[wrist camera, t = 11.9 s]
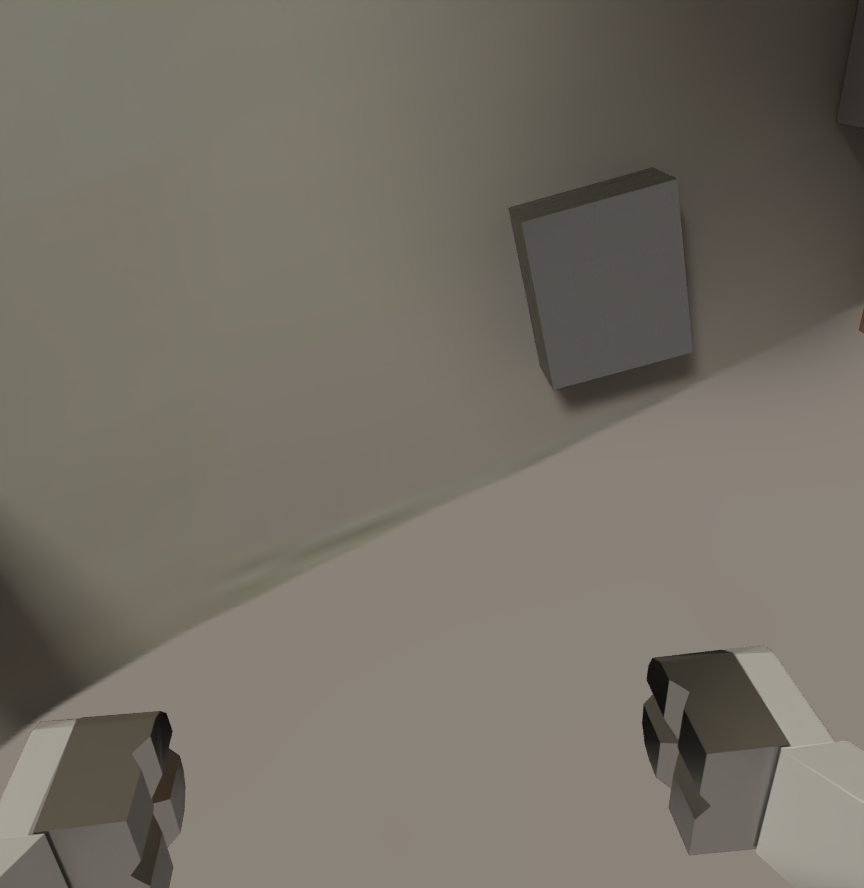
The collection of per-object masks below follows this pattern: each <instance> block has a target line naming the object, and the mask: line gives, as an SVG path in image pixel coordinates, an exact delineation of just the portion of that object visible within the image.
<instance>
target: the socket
mask: <svg viewBox="0 0 864 888" xmlns="http://www.w3.org/2000/svg"><path fill="white" fill-rule="evenodd" d="M836 123H840V124H845V125H850V126H856V127H861V128H864V0H859V3H858V8H857V14H856V19H855V24H854V29H853V35H852V40H851V45H850V51H849V56H848V61H847V67H846V72H845V77H844V83H843V88H842V93H841V98H840V104H839V109H838V114H837V120H836Z"/></svg>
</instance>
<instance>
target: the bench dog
mask: <svg viewBox="0 0 864 888" xmlns="http://www.w3.org/2000/svg"><path fill="white" fill-rule="evenodd" d="M859 330H860V331H861V332H863V333H864V311H863V315H862V319H861V324H860V328H859Z"/></svg>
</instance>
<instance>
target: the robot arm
mask: <svg viewBox="0 0 864 888" xmlns="http://www.w3.org/2000/svg"><path fill="white" fill-rule="evenodd" d="M647 682H648V684H649V686H650V689H651V691H652V693H653V695H652V696H651V697H650V698H649V699H648V700H647V701H646V702H645V703H644V706H643V719H642V726H643V734H644V742H645V747H646V750H647V754H648V757H649V761H650V763H651V765H652V768H653V771H654V773H655V776H656V778H658V779H659V780H660V781H662V782H663V783H664V784H666V785H667V786H668V787H670V788H671V795H670V802H669V809H670V812H671V814H672V816H673V819H674V821H675V824H676V826H677V828H678V830H679V833H680V835H681V838H682V840H683V842H684V845H685V847H686V849H687V852H688V854H689V855H698V854H708V853H719V852H729V851H740V850H750V849H756V853H757V854H758V855H759V856H760V857H761V858H762V859H763V860H764V861H765V862H767V863H768V864H769V865H770V866H771V867H772V868H773V869H774V870H775V871H777V872H778V873H779V874H780V875H781V876H782V877H783V878H784V879H785V880H786V881H788V882H789V883H790V884H791V885H792V886H793V887H794V888H864V750H862V749H861V748H859V747H857V746H856V745H854V744H852V743H850V742H848V741H835V740H834V739H833V737H832V736H831V734H830V733H829V732H828V730H827V729H826V727H825V726H824V724H823V723H822V721H821V720H820V719H819V717H818V716H817V714H816V713H815V711H814V710H813V709H812V707H811V706H810V704H809V703H808V702H807V700H806V699H805V698H804V696H803V695H802V693H801V691H800V690H799V689H798V687H797V686H796V684H795V683H794V681H793V680H792V679H791V677H790V676H789V674H788V673H787V672H786V670H785V669H784V667H783V666H782V664H781V663H780V662H779V660H778V659H777V657H776V656H775V654H774V653H773V652H772V650H771V649H769V648H768V647H766V646H765V645H758V646H749V647H740V648H732V649H727V650H715V651H706V652H697V653H689V654H680V655H672V656H664V657H655V658H652V660H651V662H650V663H649V666H648V672H647ZM172 732H173V731H172V728H171V725H170V722H169V719H168V716H167V713H165V712H162V711H157V712H144V713H132V714H119V715H108V716H95V717H84V718H80V719H68V720H56V721H43V722H40V723H39V724H38V725H37V726H36V727H35V728H34V729H33V731H32V732H31V733H30V735H29V737H28V740H27V741H26V744H25V746H24V748H23V750H22V753H21V755H20V757H19V759H18V761H17V764H16V766H15V768H14V770H13V773H12V775H11V777H10V779H9V781H8V784H7V786H6V788H5V790H4V792H3V795H2V797H1V799H0V888H169V885H170V880H171V876H172V871H173V864H172V861H171V858H170V855H169V851H168V849H167V848H168V846H169V845H170V844H171V843H172V842H173V841H174V840H175V838H176V837H177V836H178V835H179V834H180V832H181V827H182V822H183V816H184V808H185V779H184V770H183V766H182V763H181V759H180V756H179V755H178V754H176V753H175V752H174V751H172V750H171V749H169V744H170V740H171V736H172Z"/></svg>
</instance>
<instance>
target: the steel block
mask: <svg viewBox="0 0 864 888" xmlns="http://www.w3.org/2000/svg"><path fill="white" fill-rule="evenodd" d="M509 213H510V218H511V223H512V228H513V233H514V238H515V243H516V248H517V253H518V258H519V263H520V268H521V273H522V278H523V283H524V288H525V293H526V298H527V303H528V308H529V313H530V318H531V323H532V328H533V333H534V338H535V343H536V348H537V353H538V358H539V363H540V367H541V369H542V371H543V372H544V374H545V376H546V378H547V379H548V381H549V383H550V385H551V386H552V388H553V390H556V389H559V388H563V387H567V386H570V385H574V384H578V383H582V382H585V381H589V380H593V379H596V378H600V377H604V376H607V375H611V374H615V373H618V372H622V371H626V370H630V369H633V368H637V367H641V366H644V365H648V364H652V363H655V362H659V361H663V360H666V359H670V358H674V357H678V356H681V355H685V354H689V353H692V352H693V347H692V336H691V325H690V314H689V303H688V292H687V281H686V270H685V259H684V247H683V236H682V225H681V214H680V203H679V192H678V181H677V179H676V178H674V177H672V176H670V175H668V174H666V173H664V172H661V171H659V170H657V169H655V168H653V167H652V168H649V169H645V170H642V171H638V172H635V173H631V174H627V175H624V176H620V177H617V178H613V179H610V180H606V181H602V182H599V183H595V184H592V185H588V186H585V187H581V188H577V189H574V190H570V191H567V192H563V193H560V194H556V195H552V196H549V197H545V198H542V199H538V200H535V201H531V202H527V203H524V204H520V205H517V206H513V207H510V208H509Z"/></svg>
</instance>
